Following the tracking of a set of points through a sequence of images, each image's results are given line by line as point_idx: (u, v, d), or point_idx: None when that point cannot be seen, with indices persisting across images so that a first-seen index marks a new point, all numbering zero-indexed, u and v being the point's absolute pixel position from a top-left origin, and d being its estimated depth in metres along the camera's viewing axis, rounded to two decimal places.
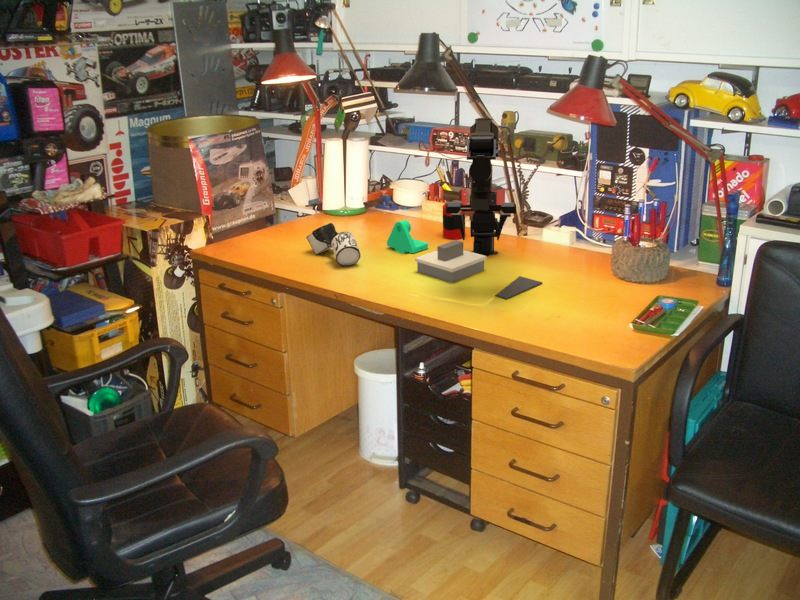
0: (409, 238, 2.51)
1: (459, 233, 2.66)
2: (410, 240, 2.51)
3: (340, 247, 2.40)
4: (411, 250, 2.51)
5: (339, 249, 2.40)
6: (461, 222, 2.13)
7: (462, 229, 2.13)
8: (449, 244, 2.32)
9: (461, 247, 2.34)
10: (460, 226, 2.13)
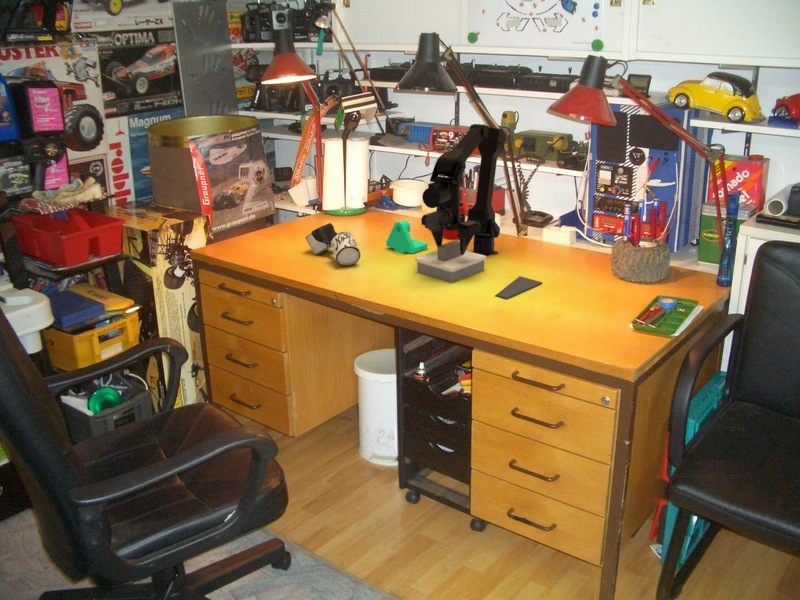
0: (409, 238, 2.51)
1: None
2: (409, 240, 2.51)
3: (340, 247, 2.40)
4: (410, 250, 2.51)
5: (339, 249, 2.40)
6: (434, 233, 2.34)
7: (435, 239, 2.35)
8: (449, 244, 2.32)
9: None
10: (434, 236, 2.34)
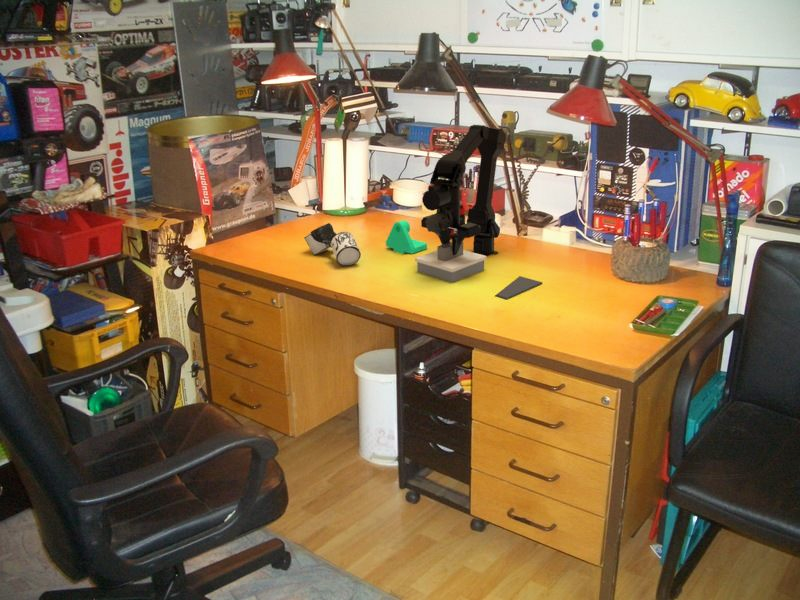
0: (408, 238, 2.51)
1: None
2: (409, 240, 2.51)
3: (340, 247, 2.40)
4: (410, 251, 2.51)
5: (339, 249, 2.40)
6: (441, 237, 2.32)
7: (443, 243, 2.33)
8: (449, 244, 2.32)
9: (461, 247, 2.34)
10: (441, 240, 2.33)
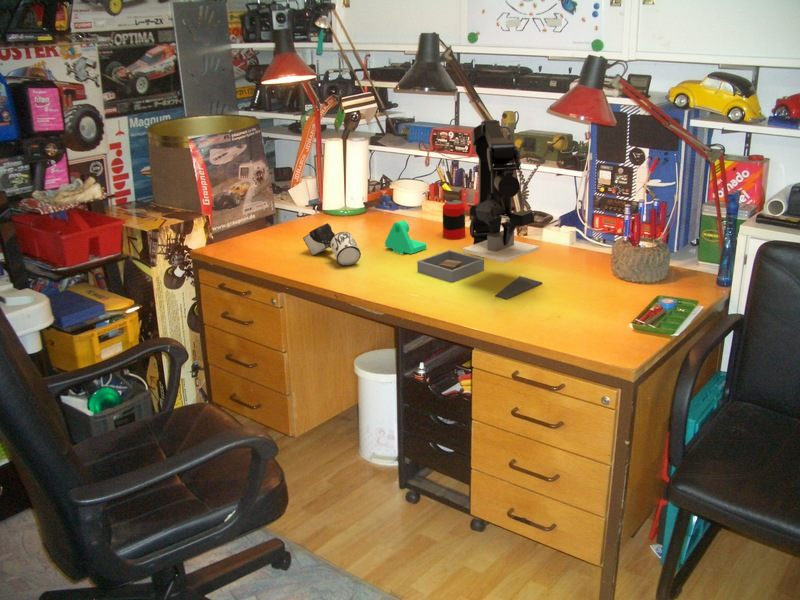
0: (408, 238, 2.51)
1: (459, 233, 2.66)
2: (408, 241, 2.51)
3: (341, 247, 2.40)
4: (410, 251, 2.51)
5: (340, 249, 2.40)
6: (491, 226, 2.19)
7: (493, 233, 2.20)
8: (499, 233, 2.19)
9: (512, 237, 2.21)
10: (491, 230, 2.20)
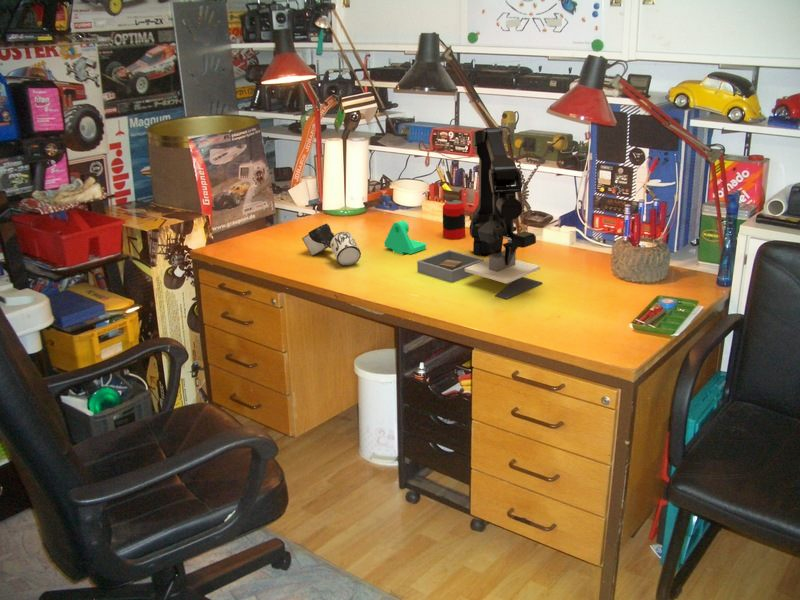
0: (407, 238, 2.51)
1: (459, 233, 2.66)
2: (408, 241, 2.50)
3: (341, 247, 2.40)
4: (409, 251, 2.51)
5: (340, 249, 2.40)
6: (493, 246, 2.21)
7: (494, 253, 2.22)
8: (501, 253, 2.21)
9: (513, 257, 2.23)
10: (492, 250, 2.22)
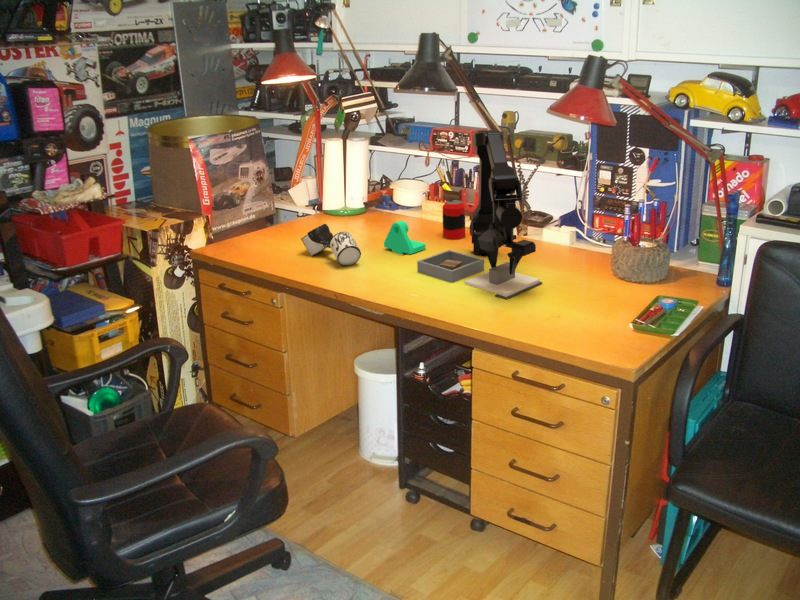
0: (407, 239, 2.50)
1: (459, 233, 2.66)
2: (408, 241, 2.50)
3: (341, 247, 2.40)
4: (409, 251, 2.50)
5: (340, 249, 2.40)
6: (489, 253, 2.23)
7: (490, 260, 2.24)
8: (500, 266, 2.22)
9: None
10: (488, 257, 2.24)
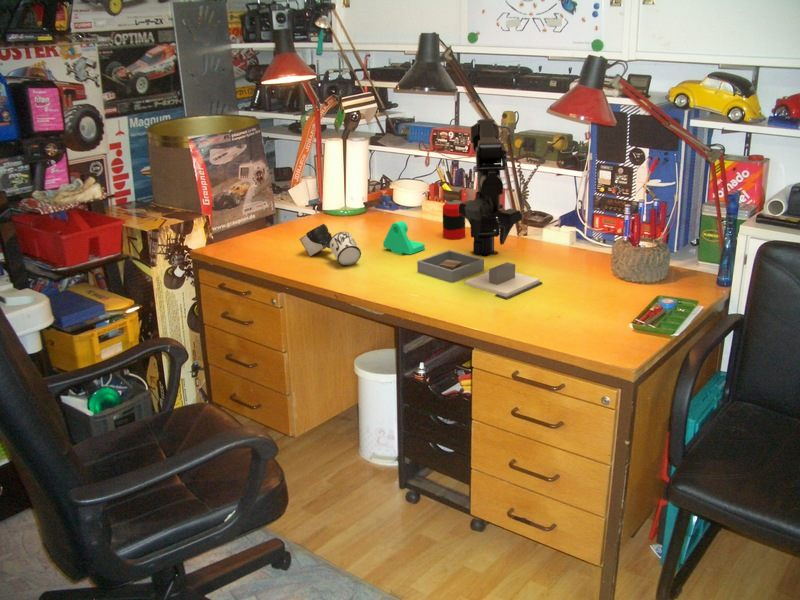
0: (406, 239, 2.50)
1: (459, 233, 2.66)
2: (407, 241, 2.50)
3: (341, 247, 2.40)
4: (408, 251, 2.50)
5: (341, 249, 2.40)
6: (471, 222, 2.26)
7: (473, 228, 2.26)
8: (500, 266, 2.22)
9: (513, 270, 2.24)
10: (471, 225, 2.26)
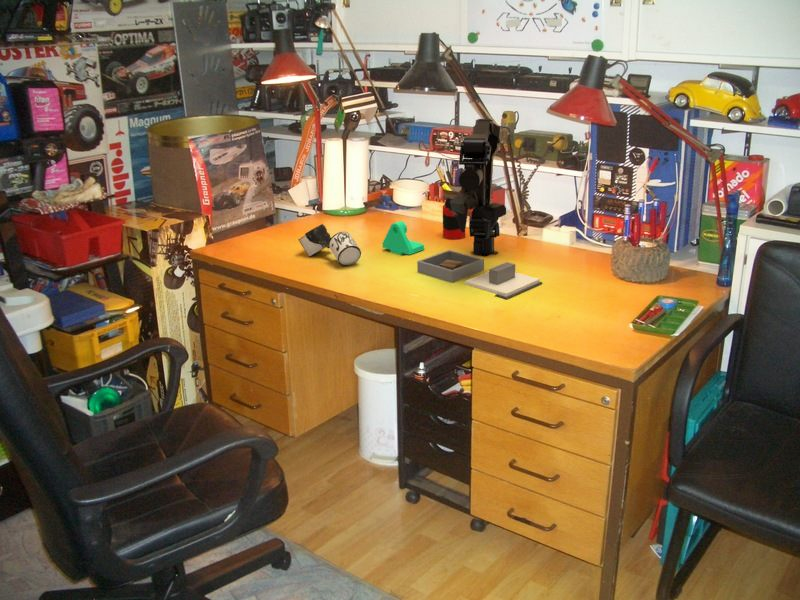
0: (406, 239, 2.50)
1: (459, 233, 2.66)
2: (407, 241, 2.50)
3: (342, 247, 2.40)
4: (408, 252, 2.50)
5: (341, 249, 2.40)
6: (458, 216, 2.30)
7: (459, 223, 2.31)
8: (500, 266, 2.22)
9: (513, 270, 2.24)
10: (458, 220, 2.31)
